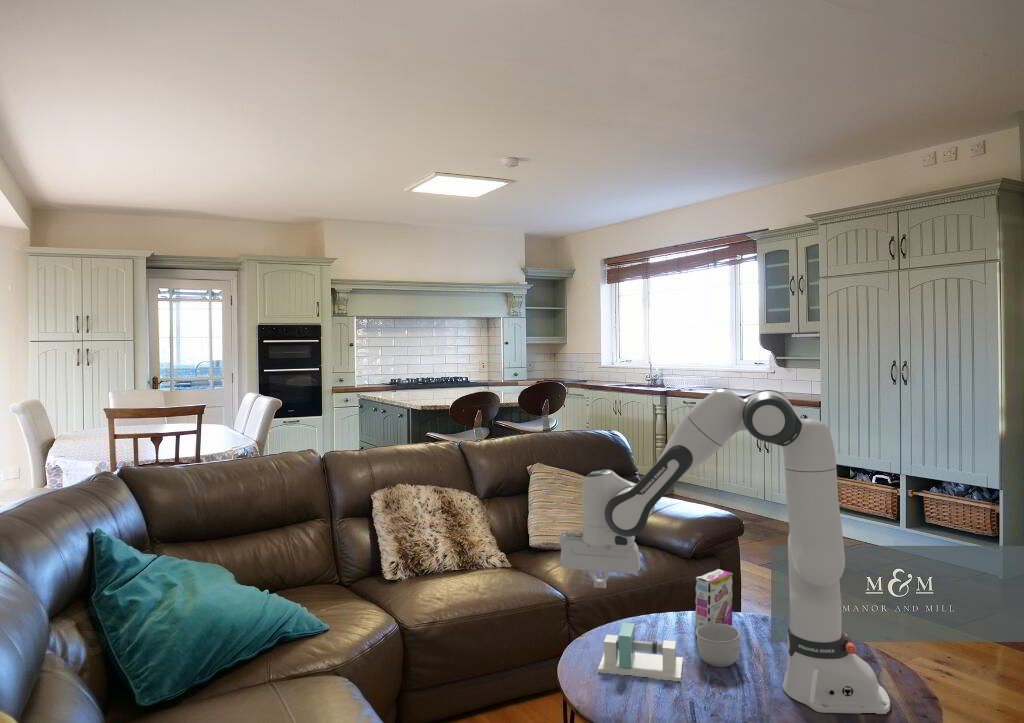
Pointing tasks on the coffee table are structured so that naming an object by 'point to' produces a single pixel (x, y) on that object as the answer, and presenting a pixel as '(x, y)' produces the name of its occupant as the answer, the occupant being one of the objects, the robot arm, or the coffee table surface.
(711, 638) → the teacup
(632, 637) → the collar
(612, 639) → the pipe stand
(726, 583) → the candy bar box
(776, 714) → the coffee table surface
